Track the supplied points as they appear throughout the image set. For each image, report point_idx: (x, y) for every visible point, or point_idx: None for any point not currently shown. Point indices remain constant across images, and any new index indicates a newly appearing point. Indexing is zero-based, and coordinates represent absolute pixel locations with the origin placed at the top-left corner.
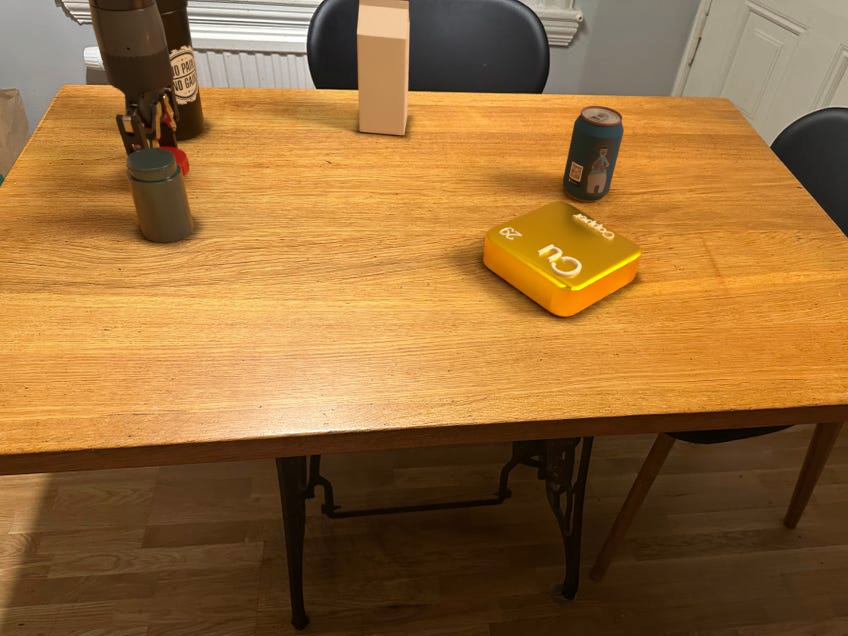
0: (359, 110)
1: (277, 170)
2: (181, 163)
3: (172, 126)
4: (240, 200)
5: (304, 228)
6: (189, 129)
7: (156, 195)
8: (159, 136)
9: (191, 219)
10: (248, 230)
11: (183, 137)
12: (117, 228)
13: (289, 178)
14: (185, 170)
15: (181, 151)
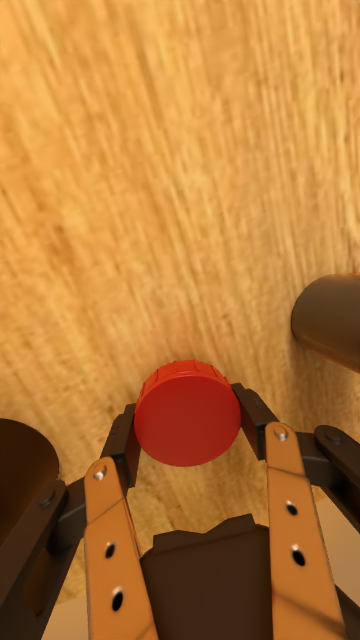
0: None
1: (62, 200)
2: (200, 375)
3: (113, 476)
4: (213, 233)
5: (293, 30)
6: (5, 440)
7: None
8: (276, 475)
9: (346, 274)
10: (316, 171)
11: (32, 435)
12: (332, 382)
13: (85, 154)
14: (188, 364)
15: (147, 401)
